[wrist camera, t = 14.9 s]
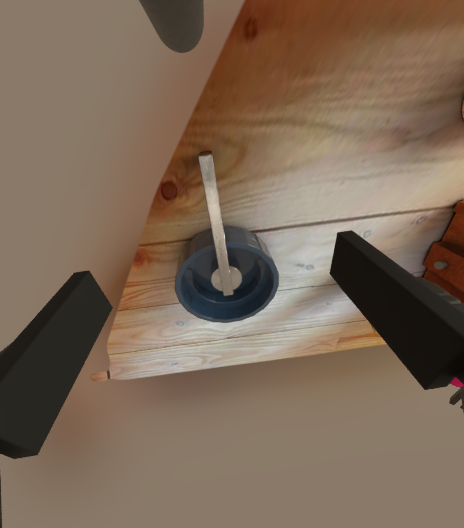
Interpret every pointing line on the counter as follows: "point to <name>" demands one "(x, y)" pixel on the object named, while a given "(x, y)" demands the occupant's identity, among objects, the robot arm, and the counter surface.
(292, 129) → the counter surface
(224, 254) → the bent grey beam
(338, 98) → the counter surface
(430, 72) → the counter surface
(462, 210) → the milk bottle holder
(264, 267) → the bowl
